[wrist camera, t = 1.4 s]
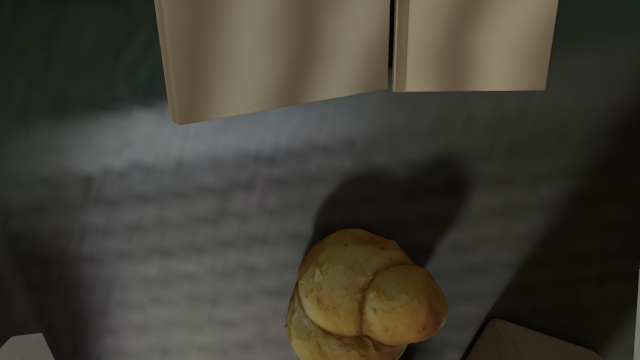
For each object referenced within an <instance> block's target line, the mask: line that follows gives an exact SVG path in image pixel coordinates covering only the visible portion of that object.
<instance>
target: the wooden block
mask: <svg viewBox="0 0 640 360" xmlns="http://www.w3.org/2000/svg"><path fill="white" fill-rule="evenodd" d="M466 360H603V359H602V358H601V357H600V356H599V355H598V354H597V353H595V352H593V351H592V350H590V349H587V348H584V347H581V346H578V345H575V344H572V343H569V342H566V341H563V340H560V339H557V338H555V337H552V336H549V335H546V334H543V333H540V332H537V331H534V330H531V329H528V328H525V327H523V326H520V325H517V324H514V323H511V322H508V321H505V320H502V319H492V320H491V321H490V322H488V324H487V325H486V327H485V329H484V330H483V332H482V333H481V335H480V337H479V338H478V340H477V342H476V343H475V345H474V347H473V348H472V350H471V351H470V353H469V355H468V356H467V358H466Z"/></svg>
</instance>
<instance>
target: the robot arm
mask: <svg viewBox="0 0 640 360" xmlns="http://www.w3.org/2000/svg"><path fill="white" fill-rule="evenodd" d="M0 360H54V358H53V356H52V353H51V351H50V349H49V347H48V345H47V343H46V341H45V339H44V337H43V335H42V333H36V334H28V335H20V336H12V337H11V338H10V339H9V340H8V341H7V342H6V343H5V344H4V345H3V346H2V347H1V348H0ZM634 360H640V271H639V286H638V302H637V317H636V333H635V348H634Z"/></svg>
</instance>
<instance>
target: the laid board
mask: <svg viewBox="0 0 640 360" xmlns="http://www.w3.org/2000/svg"><path fill="white" fill-rule="evenodd" d="M557 7H558V0H395V11H394V40H393V68H392V90H393V92H406V91H512V90H545V86H546V80H547V73H548V66H549V60H550V53H551V46H552V40H553V33H554V27H555V20H556V13H557Z"/></svg>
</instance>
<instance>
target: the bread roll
mask: <svg viewBox="0 0 640 360" xmlns="http://www.w3.org/2000/svg"><path fill="white" fill-rule="evenodd" d="M447 315H448V307H447V303H446V299H445V296H444V294H443V292H442V290H441V289H440V287H439V286H438V285H437V283H436V282H435V280H434V278H433V276H432V275H431V273H430V272H429V271H427V270H426V269H424V268H422V267H419V266H416V265H415V264H414V263H413V262H412V261H411V260H410V258H409V257H408V256H407V254H406V253H405V252H404V251H403V250H402V249H401V248H400V247H399V246H398V244H397V243H396V242H395V241H393V240H388V239H386V238H384V237H381V236H378V235H375V234H372V233H370V232H367V231H365V230H362V229H342V230H339V231H336V232H334V233H333V234H331V235H329V236H327V237H325V238H324V239H322V240H320V241H319V242H317V243H316V244H315V245H314V246H313V247H312V248H311V249H310V250H309V252H308V253H307V254H306V256H305V258H304V259H303V261H302V263H301V265H300V267H299V271H298V280H297V282H296V284H295V288H294V291H293V294H292V296H291V299H290V303H289V307H288V314H287V319H286V325H284V327H285V328H286V330H287V336H288V338H289V341H290V344H291V346H292V348H293V350H294V351H295V353H296V354H297V355H298V356H299V358H300V359H301V360H397V359H398V358H399V357H400V356H401V355H402V353H403V352H404V350H405V349H406V347H407V344H409V343H416V342H419V341H421V340H424V339H427V338H429V337H431V336H433V335H434V334H436V333H437V332H438V331H439V330H440V329H441V328H442V326H443V325H444V324H445V322H446V318H447Z"/></svg>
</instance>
